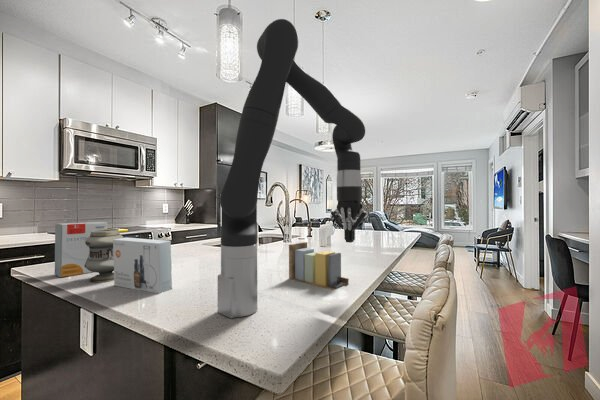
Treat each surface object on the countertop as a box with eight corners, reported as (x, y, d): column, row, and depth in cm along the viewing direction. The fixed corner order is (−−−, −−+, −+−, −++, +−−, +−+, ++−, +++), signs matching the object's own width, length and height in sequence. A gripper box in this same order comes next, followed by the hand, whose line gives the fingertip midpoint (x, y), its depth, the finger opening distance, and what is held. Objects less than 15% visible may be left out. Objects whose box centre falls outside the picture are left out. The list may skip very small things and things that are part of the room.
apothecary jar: (76, 282, 100) (76, 231, 100) (106, 273, 112) (106, 227, 112) (104, 284, 97) (104, 231, 97) (132, 275, 109) (132, 228, 109)
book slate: (303, 280, 96) (303, 251, 96) (295, 278, 99) (294, 249, 99) (313, 277, 100) (313, 249, 100) (305, 275, 103) (305, 247, 103)
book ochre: (325, 286, 90) (325, 254, 90) (315, 283, 93) (315, 253, 93) (335, 282, 94) (335, 252, 94) (325, 280, 97) (325, 250, 97)
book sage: (312, 282, 94) (312, 255, 94) (304, 280, 96) (304, 254, 96) (322, 279, 98) (322, 253, 98) (314, 277, 100) (314, 252, 100)
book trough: (333, 293, 86) (333, 251, 86) (289, 281, 99) (288, 244, 99) (348, 287, 92) (348, 247, 92) (305, 277, 105) (304, 242, 105)
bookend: (335, 288, 87) (335, 256, 87) (328, 286, 89) (328, 255, 89) (345, 284, 91) (345, 253, 91) (338, 283, 93) (338, 252, 93)
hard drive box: (59, 278, 105) (59, 224, 105) (54, 275, 110) (53, 223, 110) (107, 270, 117) (107, 221, 117) (100, 267, 122) (100, 221, 122)
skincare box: (112, 286, 95) (111, 239, 95) (127, 282, 100) (127, 237, 100) (158, 294, 87) (158, 242, 87) (172, 289, 92) (172, 240, 92)
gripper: (374, 185, 85) (375, 242, 85) (338, 186, 94) (338, 239, 94) (361, 184, 80) (362, 245, 80) (324, 186, 89) (325, 241, 89)
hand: (349, 242), depth 87 cm, fingers closed
